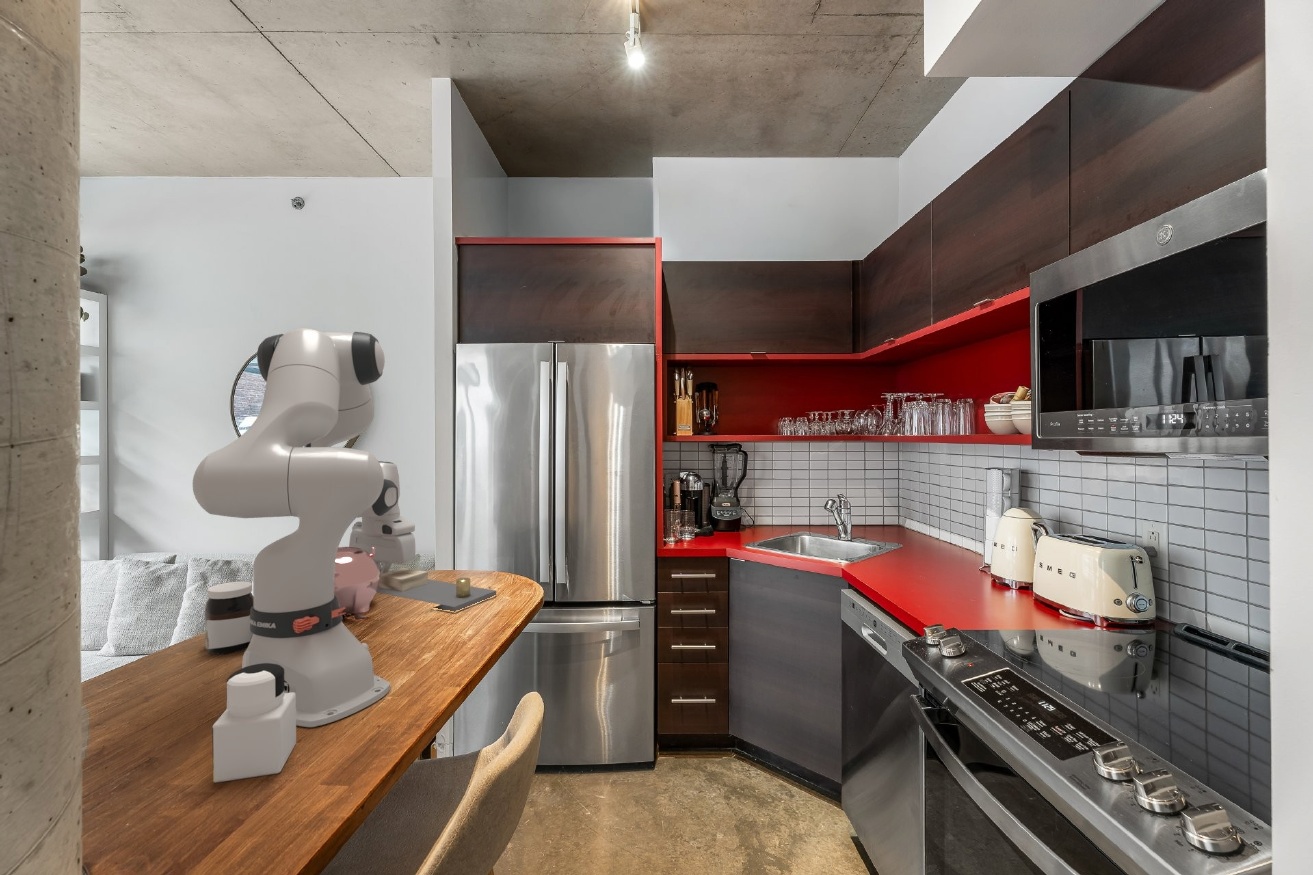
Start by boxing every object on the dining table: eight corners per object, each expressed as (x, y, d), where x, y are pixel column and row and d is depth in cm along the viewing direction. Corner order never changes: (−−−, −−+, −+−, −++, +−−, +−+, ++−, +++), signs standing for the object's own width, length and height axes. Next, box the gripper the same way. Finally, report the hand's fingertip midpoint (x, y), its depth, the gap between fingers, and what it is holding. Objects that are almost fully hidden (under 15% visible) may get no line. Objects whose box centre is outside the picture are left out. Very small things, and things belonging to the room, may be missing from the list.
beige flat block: (427, 583, 149) (427, 571, 149) (402, 591, 142) (402, 579, 142) (402, 579, 153) (402, 567, 153) (376, 586, 146) (376, 574, 146)
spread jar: (203, 644, 112) (202, 584, 112) (272, 630, 120) (272, 574, 119) (208, 664, 103) (208, 599, 103) (283, 648, 111) (283, 587, 110)
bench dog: (473, 595, 140) (473, 578, 140) (463, 598, 137) (463, 581, 137) (462, 593, 141) (462, 576, 141) (453, 596, 139) (453, 580, 138)
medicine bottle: (234, 751, 77) (233, 661, 76) (296, 743, 79) (296, 655, 78) (211, 784, 70) (210, 685, 70) (280, 773, 72) (279, 677, 72)
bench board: (496, 596, 144) (496, 590, 144) (454, 613, 131) (454, 606, 131) (407, 581, 157) (407, 575, 157) (361, 595, 144) (361, 589, 144)
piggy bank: (285, 613, 130) (285, 542, 130) (374, 600, 140) (374, 534, 140) (287, 635, 117) (286, 556, 117) (385, 619, 127) (384, 546, 127)
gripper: (342, 522, 152) (342, 575, 152) (399, 529, 143) (399, 585, 144) (363, 519, 157) (363, 570, 158) (419, 525, 149) (419, 579, 149)
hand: (381, 577), depth 151 cm, fingers closed
